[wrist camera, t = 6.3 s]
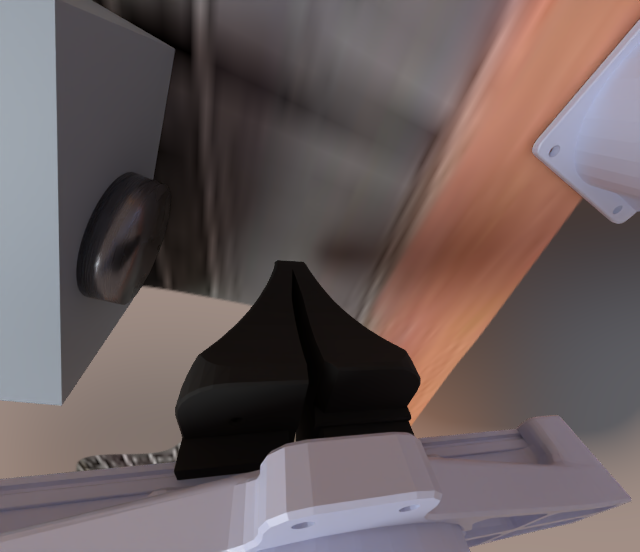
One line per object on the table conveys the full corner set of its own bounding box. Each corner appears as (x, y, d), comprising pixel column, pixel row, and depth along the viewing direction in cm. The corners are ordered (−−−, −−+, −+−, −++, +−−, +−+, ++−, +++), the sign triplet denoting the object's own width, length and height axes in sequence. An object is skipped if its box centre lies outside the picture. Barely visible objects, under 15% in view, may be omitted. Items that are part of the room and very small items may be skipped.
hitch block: (175, 49, 9) (54, -3, 4) (133, 299, 14) (61, 405, 9) (65, -16, 8) (-297, -200, 3) (65, 284, 13) (-54, 395, 8)
